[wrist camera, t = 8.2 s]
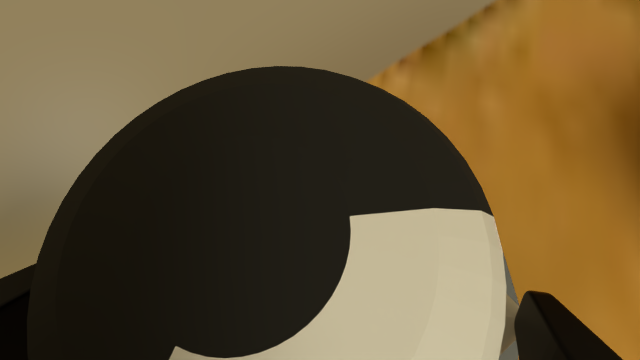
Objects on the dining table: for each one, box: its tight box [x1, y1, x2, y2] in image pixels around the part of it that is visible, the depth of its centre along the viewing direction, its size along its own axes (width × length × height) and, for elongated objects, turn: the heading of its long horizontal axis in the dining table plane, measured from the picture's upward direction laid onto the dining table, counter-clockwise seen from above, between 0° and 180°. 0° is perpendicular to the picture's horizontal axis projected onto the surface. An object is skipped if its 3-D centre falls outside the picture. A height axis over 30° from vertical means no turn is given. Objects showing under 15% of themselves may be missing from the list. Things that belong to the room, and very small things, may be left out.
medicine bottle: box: [27, 66, 519, 360], centre depth 9 cm, size 7×7×12 cm
